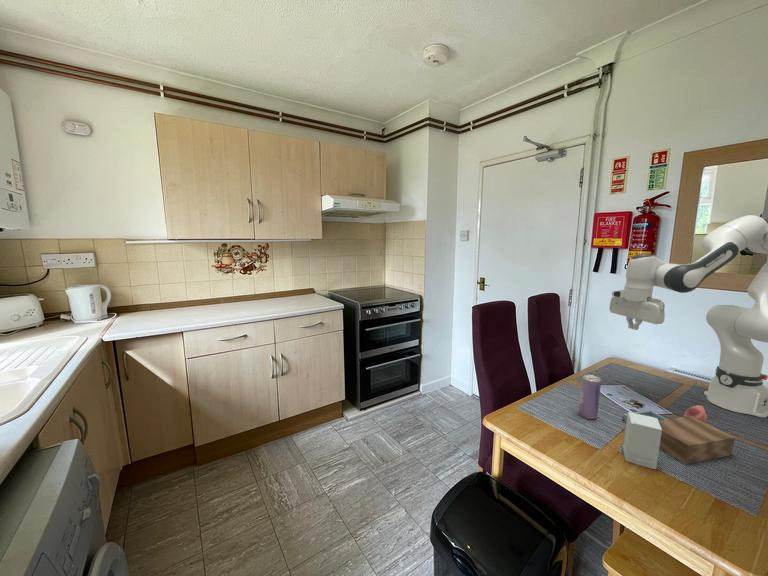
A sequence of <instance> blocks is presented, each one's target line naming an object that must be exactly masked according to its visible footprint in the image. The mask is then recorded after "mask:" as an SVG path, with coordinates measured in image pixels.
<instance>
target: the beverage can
mask: <svg viewBox="0 0 768 576" xmlns="http://www.w3.org/2000/svg"><path fill="white" fill-rule="evenodd" d="M601 387H602V379H601V378H600V377H599V376H596V375H592V374H584V375H582V378H581V386H580V393H579V401H578V402H579V404H578V414H579V416H580V417H582V418H585V419H587V420H595V419H597V418H598V415H599V414H598V413H599V405H600V395H601Z"/></svg>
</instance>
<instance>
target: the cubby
mask: <svg viewBox="0 0 768 576" xmlns="http://www.w3.org/2000/svg"><path fill="white" fill-rule="evenodd" d="M666 419H667V420H661V421H659V424H660V426H661V429H662V434H661V440H660V447H659V450H662V451H664V452H665V453H667V454H668V455H670V456H672V457H673V458H675V459H676V460H678V461H680V462H681V463H683V464H685V465H689V464H693V463H698V462H699V463H700V462H704V461H708V460H709V461H710V460H713V459H718V458H719V457H720V458H723V457H724V456H725V457H730V456H732V454H733V449H734V444H735V438H736V437H735V436H733V435H730V434H729V433H727V432H724V431H723V430H720V429H718V428H716V427H714V426H712V425H710V424H708V423H706V422H702V421H700V420H698V419H696V418H694V417H692V416H687V417H685V416H681V417H676V418H666ZM720 458H719V459H720Z"/></svg>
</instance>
